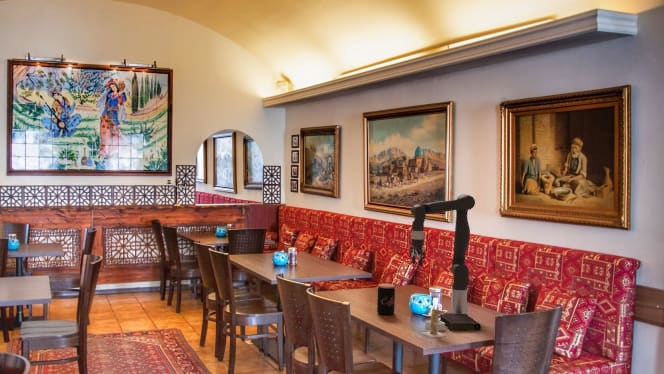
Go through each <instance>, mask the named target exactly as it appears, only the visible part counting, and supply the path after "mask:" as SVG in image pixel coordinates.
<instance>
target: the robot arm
mask: <svg viewBox="0 0 664 374" xmlns="http://www.w3.org/2000/svg"><path fill="white" fill-rule="evenodd" d="M475 205H476V200H475V198H474V196H472V195H469V194H463V193H462V194H459V195H458V196H457V198H456V199H452V200H451V199H450V200H439V201H438V200H437V201H432V202H429V203H418V204H415V205H412V206H411V209H410V213H411V215H412V216H414V218H413V219H414V221H412V223H411V227H412V228H411V242H410V244H411V246H409V257H410V258H411V264H412V265H415V264H416V263H417V262H416V260H417V259H416V257H417V258H418V266H419V267H423V265H424V263H423V262H424V260H425V259H426V249H425V248H423V247H424V246H425V231H424V230H425V220H426V215H436V214H441V213H446V212H451V211H455V213H456V215H455V225H454V226H455V228H454V229H455V230H454V240H453V256H452V262H451V268H450V269H451V270H450V271H451V274H452V276H453V282H452V284H451V302H450V303H451V305H450V306H451V307H450V313H455V314H467V315H468V312H469V302H468V300H467V299H468V296H467V295H468V286H469V277H470V271H469V270H470V269H469V267H468V265H466V253H467V250H468V248H469V245H470V237H471V229H470V224H469V220H468V212H469V211H470V210H472V209H473V208H474V207H475ZM468 316H469V315H468Z"/></svg>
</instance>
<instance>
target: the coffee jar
mask: <svg viewBox="0 0 664 374" xmlns="http://www.w3.org/2000/svg"><path fill="white" fill-rule="evenodd" d="M377 287H378V288H377V298H376V299H377V303H376V304H377V305H376V312H377V314H378V315H379V316H386V317H387V316H393V315H394V314H395V309H396V308H395V305H396V304H395V302H396V300H395V299H396V289H395V287H396V285H395V284H392V283H378V284H377Z"/></svg>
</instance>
